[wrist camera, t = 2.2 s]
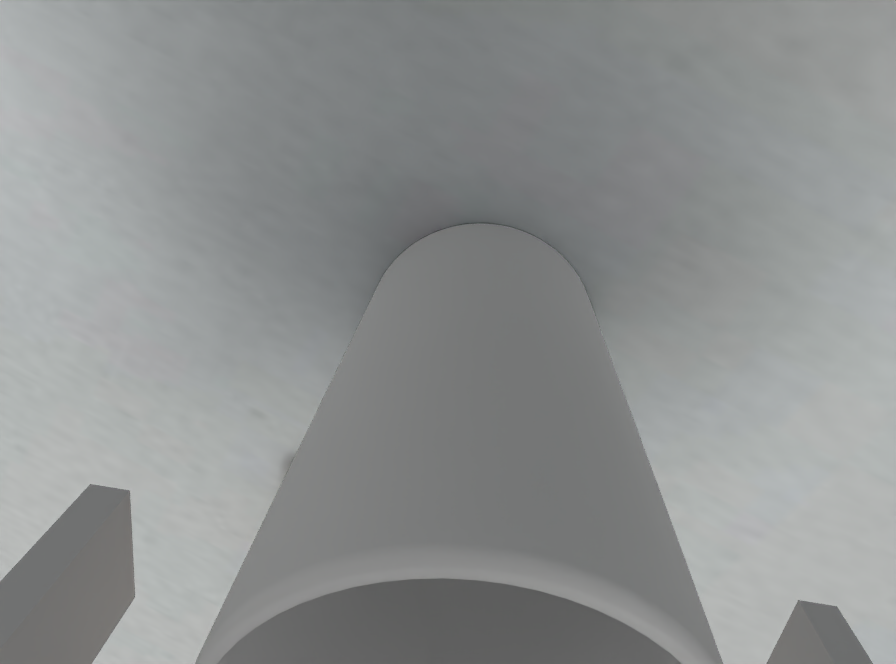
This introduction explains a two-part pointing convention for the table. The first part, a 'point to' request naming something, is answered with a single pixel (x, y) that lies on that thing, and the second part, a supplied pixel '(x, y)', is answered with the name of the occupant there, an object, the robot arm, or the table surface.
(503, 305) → the cup
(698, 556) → the table surface
